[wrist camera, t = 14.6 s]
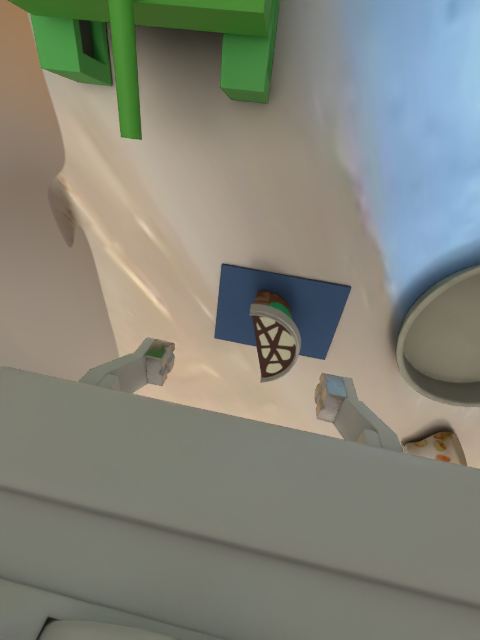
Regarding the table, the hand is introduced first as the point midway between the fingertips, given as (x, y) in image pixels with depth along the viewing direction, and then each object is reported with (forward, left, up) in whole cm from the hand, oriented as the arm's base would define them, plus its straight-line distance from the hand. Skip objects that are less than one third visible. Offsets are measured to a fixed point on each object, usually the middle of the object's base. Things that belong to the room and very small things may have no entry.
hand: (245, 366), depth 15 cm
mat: (-3, +12, -29) cm, 32 cm away
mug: (-38, +34, -29) cm, 59 cm away
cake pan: (-33, +8, -29) cm, 45 cm away
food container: (-4, +12, -29) cm, 31 cm away
